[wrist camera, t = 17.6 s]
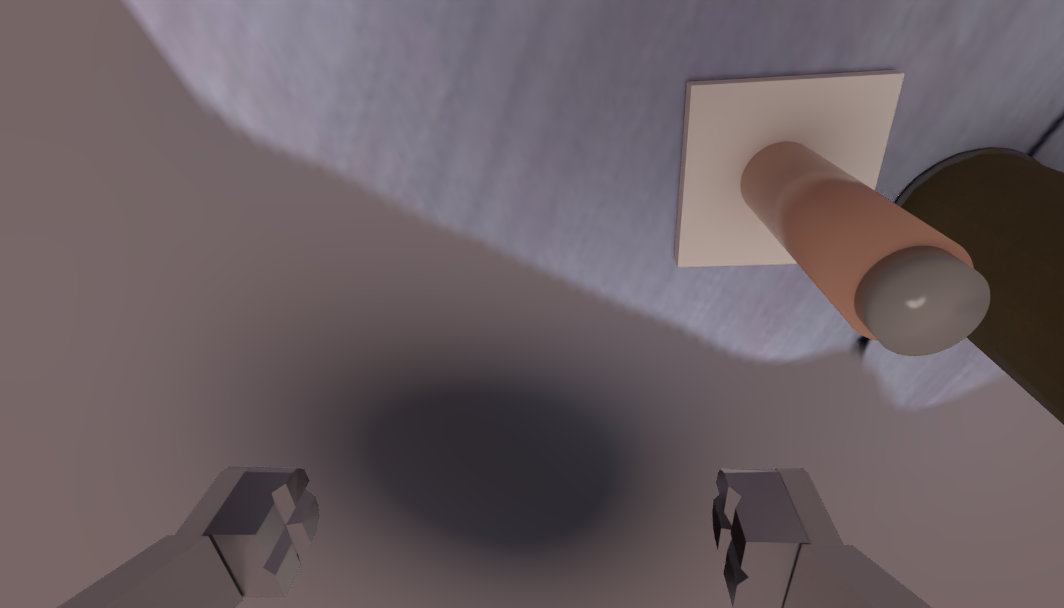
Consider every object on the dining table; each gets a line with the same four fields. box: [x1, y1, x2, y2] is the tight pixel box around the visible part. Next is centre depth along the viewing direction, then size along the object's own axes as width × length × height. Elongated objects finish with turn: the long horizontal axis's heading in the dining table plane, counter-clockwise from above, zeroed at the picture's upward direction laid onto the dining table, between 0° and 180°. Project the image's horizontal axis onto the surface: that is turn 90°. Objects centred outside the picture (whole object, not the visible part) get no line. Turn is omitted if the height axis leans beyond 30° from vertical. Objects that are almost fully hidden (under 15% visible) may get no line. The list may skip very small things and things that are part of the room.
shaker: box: [741, 142, 990, 356], centre depth 28 cm, size 5×5×17 cm
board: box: [674, 70, 905, 267], centre depth 35 cm, size 12×12×2 cm
